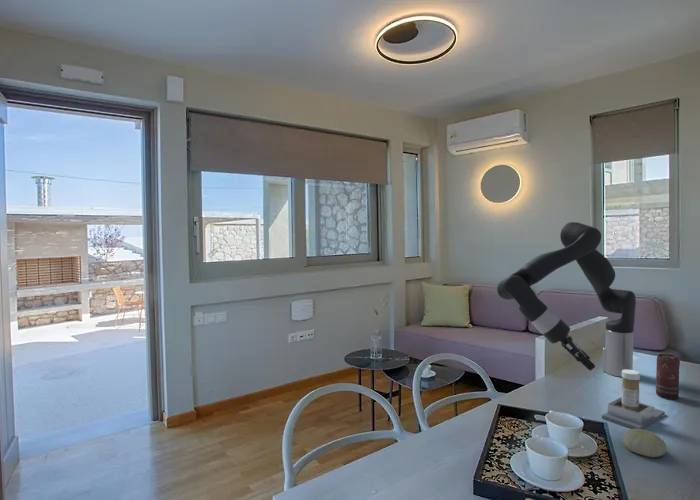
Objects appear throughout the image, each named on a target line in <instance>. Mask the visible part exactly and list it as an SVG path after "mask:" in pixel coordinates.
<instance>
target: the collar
mask: <svg viewBox="0 0 700 500" xmlns="http://www.w3.org/2000/svg"><path fill="white" fill-rule="evenodd" d="M654 408H655V406H653V405H649V404H647V403H646V404H645V403H643V402H640V401H639V412H636V411H633V410H629V409H626V408H623V407H622V396H621V397H618V398H617V399H615V400H613V401H611V402H609V403H607V412H608V414H610V415H613V416H616V417H619V418H622V419H625V420H628V421H631V422H634V423H637V424H640V425H642V424H643V423H645V422H646V421H648V420H649V419H651V418H653V417H654Z"/></svg>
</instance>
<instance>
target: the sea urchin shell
mask: <svg viewBox="0 0 700 500" xmlns="http://www.w3.org/2000/svg"><path fill="white" fill-rule="evenodd" d="M622 440H623V444H624V446H625V447H626V448H627V450H629V451H630V452H632V453H636V454H637V455H641V456H643V457H649V458H659V457H661V456H664V455H665V454H666V452H667V449H668V447H667V445H666V442H665V441H664V439H662V438H661V437H660V436H658V434H655V433H653V432H651V431H649V430H647V429H631V428H629V429H627V430H626V431H625V432H624V434H623V436H622Z"/></svg>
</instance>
